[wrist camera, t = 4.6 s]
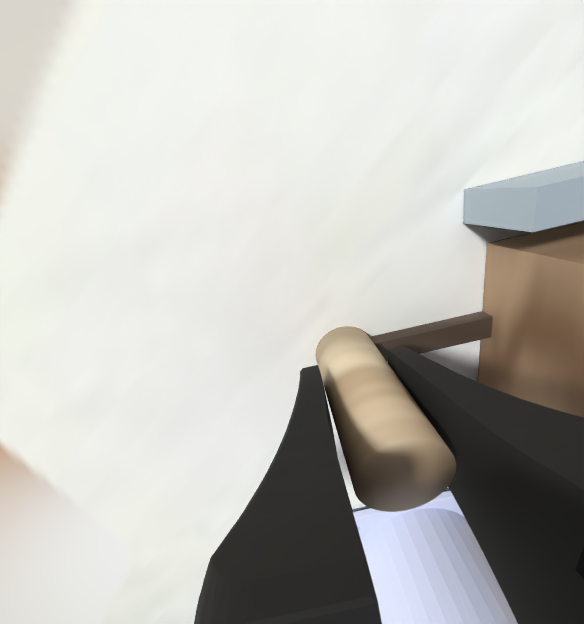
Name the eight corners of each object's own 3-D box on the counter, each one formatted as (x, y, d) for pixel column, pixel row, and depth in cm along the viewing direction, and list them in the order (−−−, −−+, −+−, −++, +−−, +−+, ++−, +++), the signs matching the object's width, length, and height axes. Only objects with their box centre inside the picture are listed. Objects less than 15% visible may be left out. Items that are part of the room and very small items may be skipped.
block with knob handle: (617, 351, 14) (856, 458, 8) (328, 417, 14) (368, 564, 8) (662, 203, 11) (1072, 209, 5) (300, 286, 11) (332, 377, 5)
